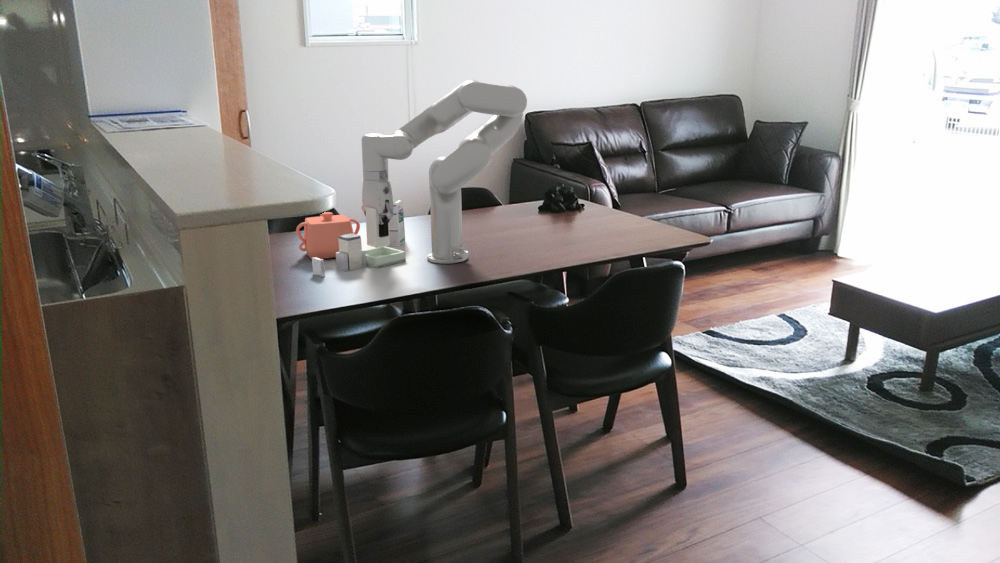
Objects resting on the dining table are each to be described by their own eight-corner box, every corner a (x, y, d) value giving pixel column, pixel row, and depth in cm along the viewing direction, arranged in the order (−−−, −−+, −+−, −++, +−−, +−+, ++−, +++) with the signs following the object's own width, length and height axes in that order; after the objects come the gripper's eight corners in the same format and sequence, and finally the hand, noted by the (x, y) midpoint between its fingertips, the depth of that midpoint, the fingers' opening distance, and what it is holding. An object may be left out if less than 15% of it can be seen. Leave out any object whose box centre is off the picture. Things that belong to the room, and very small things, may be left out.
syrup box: (400, 245, 264) (398, 202, 260) (383, 245, 265) (380, 202, 261) (405, 241, 270) (403, 199, 265) (388, 241, 271) (386, 199, 267)
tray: (405, 261, 246) (405, 251, 245) (377, 268, 238) (376, 258, 238) (384, 254, 253) (383, 245, 252) (355, 261, 246) (355, 252, 245)
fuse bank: (366, 266, 241) (364, 234, 238) (321, 277, 230) (319, 244, 227) (357, 263, 244) (355, 232, 241) (312, 274, 233) (310, 241, 230)
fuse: (390, 245, 244) (388, 205, 241) (376, 247, 241) (375, 207, 237) (380, 242, 248) (378, 203, 244) (367, 245, 244) (365, 205, 241)
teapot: (353, 243, 269) (351, 202, 265) (365, 256, 251) (363, 214, 247) (293, 249, 262) (289, 207, 258) (301, 263, 245) (297, 219, 241)
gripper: (403, 177, 235) (405, 237, 240) (369, 171, 246) (371, 228, 252) (383, 180, 230) (385, 241, 235) (348, 173, 241) (351, 232, 247)
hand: (378, 234), depth 243 cm, fingers closed on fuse, 5 cm apart
